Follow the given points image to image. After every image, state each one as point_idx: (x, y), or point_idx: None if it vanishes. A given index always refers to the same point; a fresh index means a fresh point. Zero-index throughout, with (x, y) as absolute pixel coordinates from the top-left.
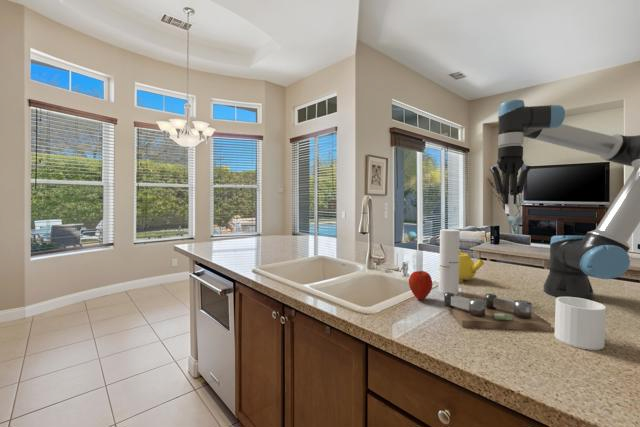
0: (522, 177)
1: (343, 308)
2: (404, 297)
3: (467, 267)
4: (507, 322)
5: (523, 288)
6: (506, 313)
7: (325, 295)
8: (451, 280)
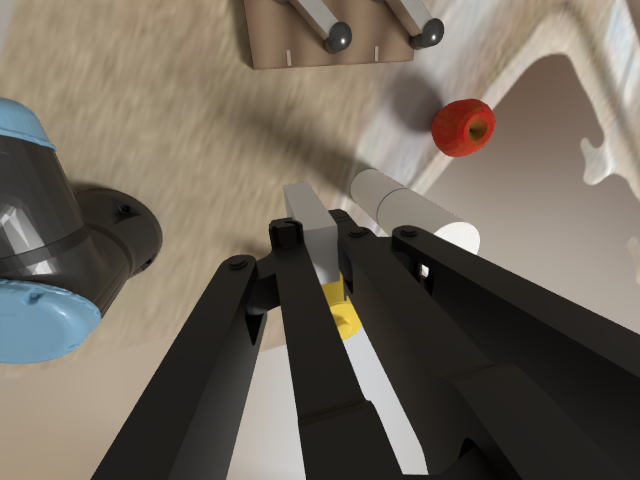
0: (198, 409)
1: (594, 34)
2: None
3: None
4: None
5: (202, 253)
6: None
7: (598, 114)
8: (381, 176)
